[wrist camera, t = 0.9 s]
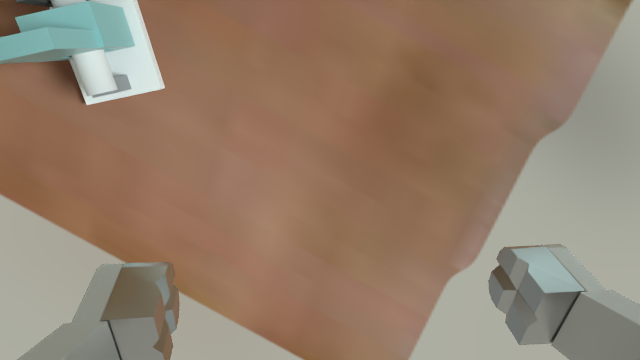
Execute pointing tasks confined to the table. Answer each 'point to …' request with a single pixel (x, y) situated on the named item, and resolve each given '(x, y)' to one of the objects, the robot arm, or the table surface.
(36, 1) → the dark gray block
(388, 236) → the table surface
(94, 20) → the teal notched saddle block
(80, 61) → the pipe stand
